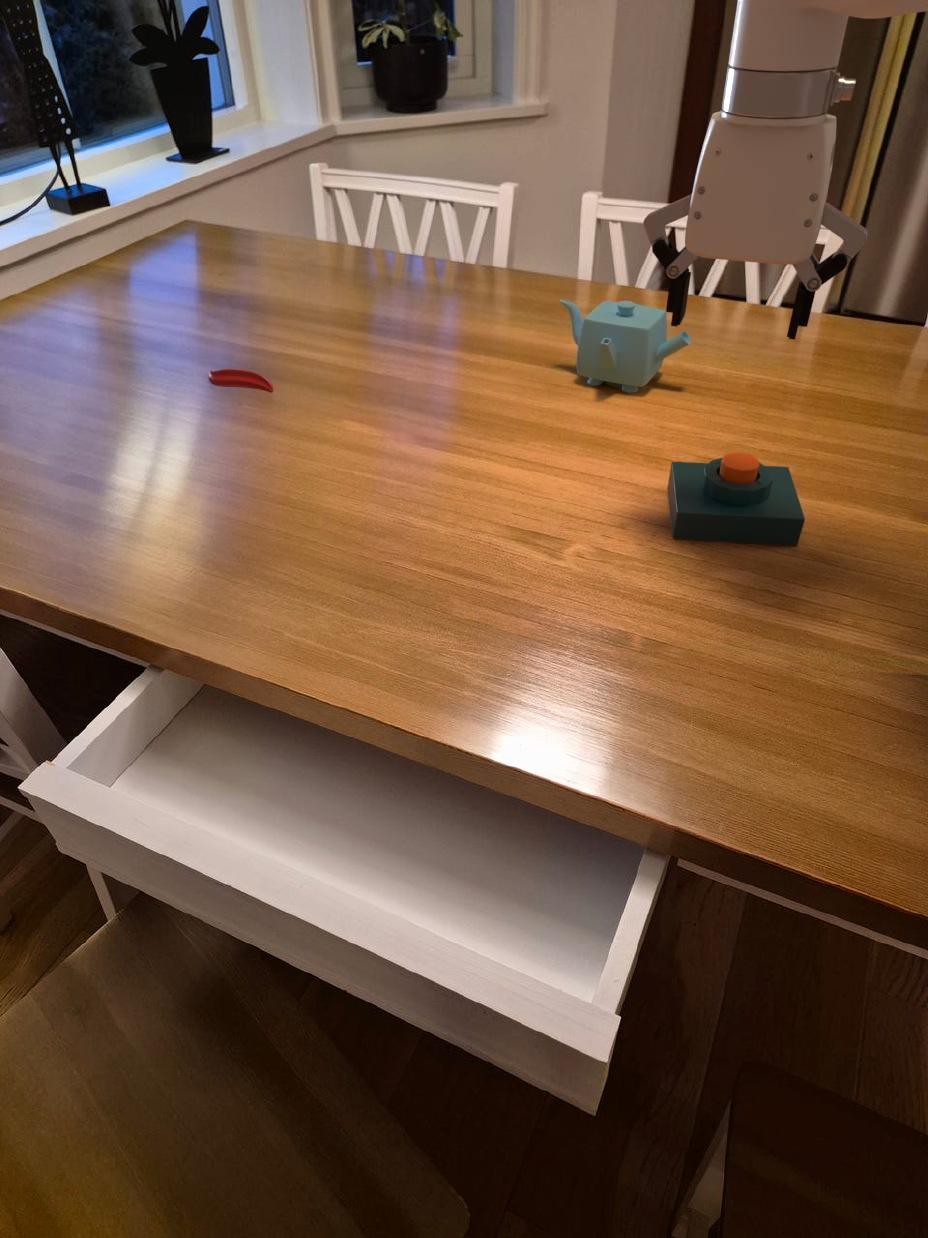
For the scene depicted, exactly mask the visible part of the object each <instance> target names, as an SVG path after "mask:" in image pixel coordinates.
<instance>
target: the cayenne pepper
mask: <svg viewBox="0 0 928 1238" xmlns="http://www.w3.org/2000/svg"><path fill="white" fill-rule="evenodd" d="M208 380H209V382H211V384H213V385H215V386H218V387H242V388H251V389H258V390H264V391H267V392H270V393H273V392H274V386H273V384H272V382H271V381H270V380H268V379H267V378H265V376H262V375H261V374H259V373H258V372H257V373H256V372H254V371H249V370H245V369H237V368H236V369H235V368H224V369H217V370H212V369H210V372H208Z"/></svg>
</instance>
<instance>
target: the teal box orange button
mask: <svg viewBox="0 0 928 1238" xmlns="http://www.w3.org/2000/svg"><path fill="white" fill-rule="evenodd" d="M722 458H723V457H720V458H719V457H718V458H715V459H712V460H710V461H709V462H707V463H706V462H690V461H689V462H688V461H671V463H670V470H669V476H668V482H667V495H668V504H669V512H670V513H669V514H670V523H671V525H670V526H671V535H672V539H673V540H680V541H682V540H683V541H698V542H699V541H700V542H715V543H717V542H719V543H735V544H751V545H752V544H753V545H770V546H788V547H789V546H790V547H797V546H798V545H799V542H800V538H801V535H802V532H803V527H804V525H805V521H806V518H805V515H804V512H803V508H802V506H801V503H800V499H799V496H798V493H797V490H796V487H795V484H794V480H793V477H792V474H791V471H790V467H789V466H778V465H777V466H776V465H773V466H772V465H764V464H762V463H761V462H759V463H760V465H759V469H758V474H757V478H756V481H755V482H753V483H749V484H734V483H731V482H728V481H725V480H723V479H722V478H721V477H720V476H719V472H720V466H721V461H722Z"/></svg>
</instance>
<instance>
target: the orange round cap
mask: <svg viewBox="0 0 928 1238" xmlns="http://www.w3.org/2000/svg"><path fill="white" fill-rule="evenodd" d="M721 458H722V461H721V466H720V472H719V476H720V477H721V478H722V479H723V480H725V481H728V482H731V483H734V484H749V483H753V482H755V481H756V478H757V474H758V469H759V465H760V463H761V462H760V460H759V459H758V458H757V457H755V456H754V455H751V454H750V453H745V452H730V453H727V454H725V455H723V456H722V457H721Z"/></svg>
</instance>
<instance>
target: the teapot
mask: <svg viewBox="0 0 928 1238" xmlns="http://www.w3.org/2000/svg"><path fill="white" fill-rule="evenodd" d="M559 303H560V304H562V305H563V306H564V307H565V308H566V309H567V312H568V314H569V317H570V327H571V334H572V338H573V341H574V343H575V344H576V345H577V351H576V360H575V366H576V372H577V375H579V376H582V377H585V378H589V379H588V380H587V384H588V385H590V386H593V387H594V386H601V385H602V384H603V383H604V382H608V383H613V384H620V385H621V386H622V387H621V389H622V391H623V392H625V393H637V392H638V391H639V387H642V388H643V387H645V386H646V385H647V384H648V383H649V382H650V381H651V380H652V379H653V378H654V377H655V375H656V374H657V373H658V372H659V370H660V369H661V367H662V365H663V363H664V360H665V359H666V358H668V357H670V356H671V355H673V354H675V353H676V352H678V351H680V350H682V349H683V348H685V347H687V346H690V344H692V340H691V336H690V335H689V334H688V332H687V331H685V330H682V331H680V332H679V333H677V334H676V335H674V336H672V337H671V338H669V339H668V340H667V337H668V336H667V334H668V327H667V326H668V325H667V324H668V323H667V321H668V320H667V312H666V309H661V308H656V307H650V306H645V305H641V304H638V303H635V302H633V301H630V300H621V301H606V300H604V301H602V302H601V303H600V304H599V305H597V306H595V308H594V309H593V310H592V311H590V312H589V313H588V314H587V315H586V316H585V317H584V319H583V320H582V316H581V312H580V309H579V307H578V306H577V304H575V302H573V301H572V300H571V301H570V300H568V299H559Z"/></svg>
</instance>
